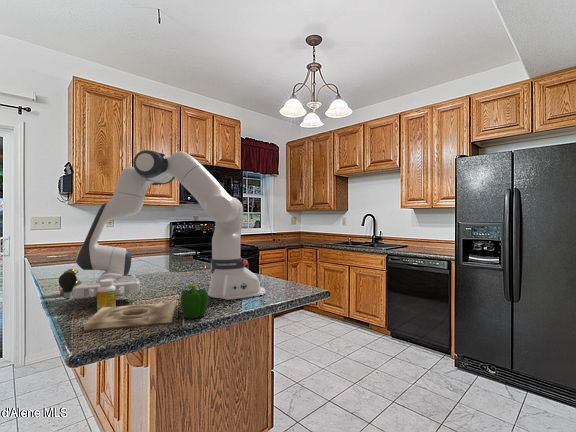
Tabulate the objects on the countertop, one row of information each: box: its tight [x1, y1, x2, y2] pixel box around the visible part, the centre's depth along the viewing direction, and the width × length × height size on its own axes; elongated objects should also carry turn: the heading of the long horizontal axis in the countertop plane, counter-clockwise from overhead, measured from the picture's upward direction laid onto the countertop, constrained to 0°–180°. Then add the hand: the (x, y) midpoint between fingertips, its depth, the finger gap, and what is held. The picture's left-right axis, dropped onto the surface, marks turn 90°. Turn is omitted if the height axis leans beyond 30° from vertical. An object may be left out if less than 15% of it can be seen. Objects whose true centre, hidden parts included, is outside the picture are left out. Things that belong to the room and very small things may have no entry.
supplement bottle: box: [96, 279, 117, 312], centre depth 104 cm, size 5×5×10 cm
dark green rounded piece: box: [59, 268, 83, 297], centre depth 127 cm, size 7×7×10 cm
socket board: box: [83, 301, 177, 332], centre depth 95 cm, size 22×16×2 cm
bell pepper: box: [180, 284, 210, 320], centre depth 97 cm, size 8×8×10 cm
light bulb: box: [58, 272, 78, 300], centre depth 119 cm, size 6×6×10 cm
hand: (106, 293), depth 103 cm, fingers closed on supplement bottle, 5 cm apart
